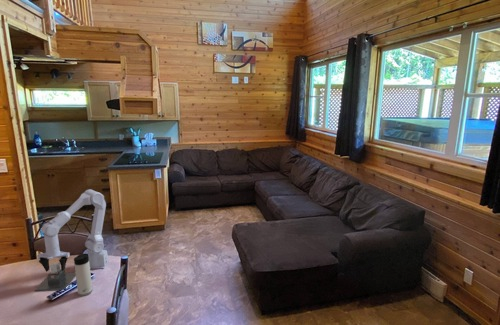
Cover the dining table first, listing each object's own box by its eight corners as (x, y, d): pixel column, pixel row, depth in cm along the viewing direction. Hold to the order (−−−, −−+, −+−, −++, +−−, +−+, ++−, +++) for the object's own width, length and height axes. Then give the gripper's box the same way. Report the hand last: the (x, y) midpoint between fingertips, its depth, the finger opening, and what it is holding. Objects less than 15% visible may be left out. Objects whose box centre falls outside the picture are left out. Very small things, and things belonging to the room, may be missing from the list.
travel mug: (86, 297, 146) (82, 259, 142) (75, 295, 147) (70, 258, 143) (95, 289, 152) (91, 253, 148) (84, 287, 153) (80, 251, 149)
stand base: (77, 273, 165) (76, 264, 164) (65, 289, 151) (63, 279, 150) (50, 274, 163) (48, 265, 162) (35, 291, 150) (33, 281, 149)
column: (61, 278, 159) (59, 262, 157) (58, 282, 156) (56, 265, 154) (55, 278, 159) (53, 262, 157) (52, 282, 156) (49, 265, 154)
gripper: (32, 250, 148) (36, 275, 151) (63, 249, 150) (66, 273, 153) (40, 243, 155) (43, 267, 158) (70, 242, 157) (73, 266, 160)
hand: (55, 270), depth 156 cm, fingers open, 7 cm apart
